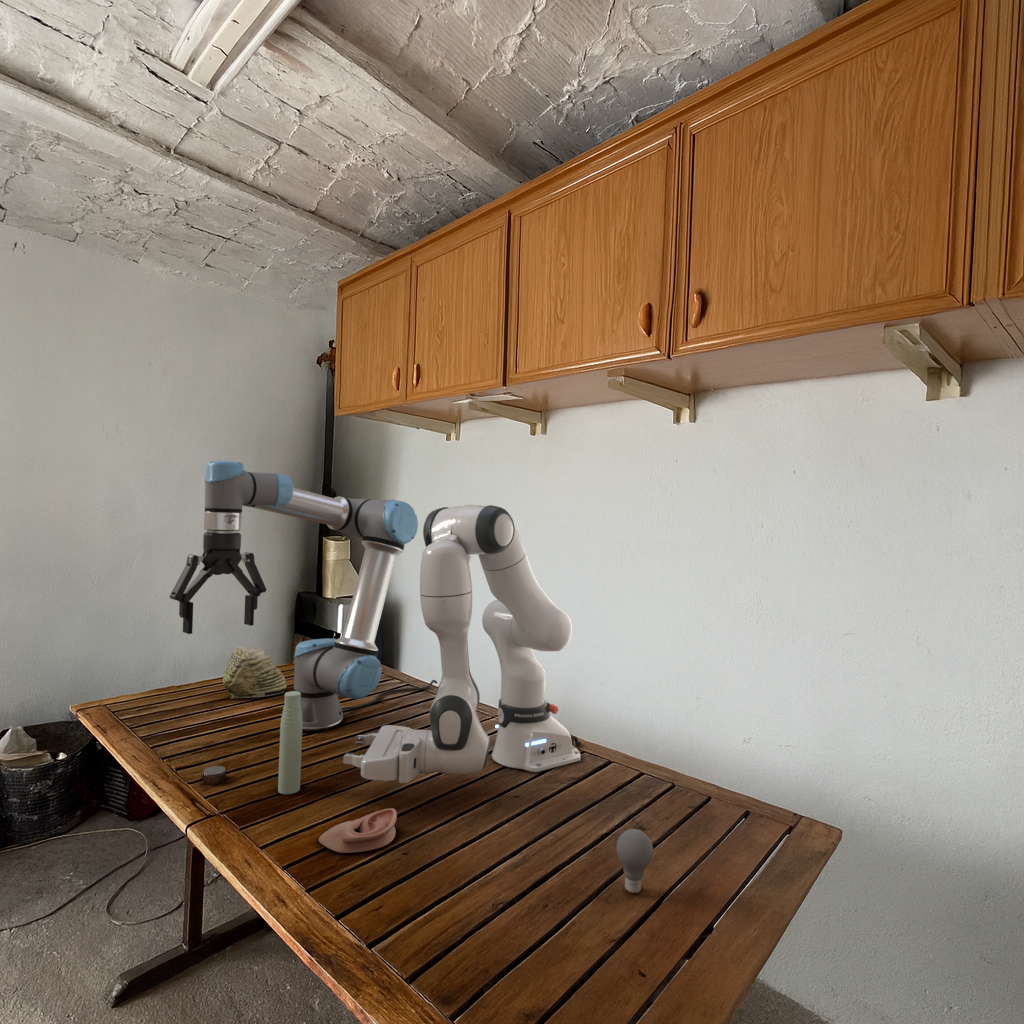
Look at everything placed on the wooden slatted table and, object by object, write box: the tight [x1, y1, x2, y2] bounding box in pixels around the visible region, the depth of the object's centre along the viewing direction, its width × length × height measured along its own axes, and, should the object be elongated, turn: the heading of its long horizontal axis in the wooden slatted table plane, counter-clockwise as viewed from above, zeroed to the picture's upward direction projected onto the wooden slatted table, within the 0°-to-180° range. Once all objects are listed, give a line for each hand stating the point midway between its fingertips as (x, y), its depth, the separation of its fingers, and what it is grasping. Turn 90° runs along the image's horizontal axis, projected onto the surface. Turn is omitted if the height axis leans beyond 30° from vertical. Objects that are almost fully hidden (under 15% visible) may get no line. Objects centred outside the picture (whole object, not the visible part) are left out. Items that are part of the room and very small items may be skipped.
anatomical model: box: [318, 807, 398, 854], centre depth 118 cm, size 13×4×12 cm
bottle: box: [277, 690, 303, 795], centre depth 136 cm, size 4×4×21 cm
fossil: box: [222, 646, 288, 699], centre depth 198 cm, size 9×18×15 cm, turn 132°
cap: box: [202, 765, 227, 786], centre depth 139 cm, size 4×5×2 cm
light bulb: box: [615, 828, 654, 894], centre depth 106 cm, size 6×6×10 cm
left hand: (219, 628), depth 139 cm, fingers open, 13 cm apart
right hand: (350, 748), depth 136 cm, fingers open, 8 cm apart
